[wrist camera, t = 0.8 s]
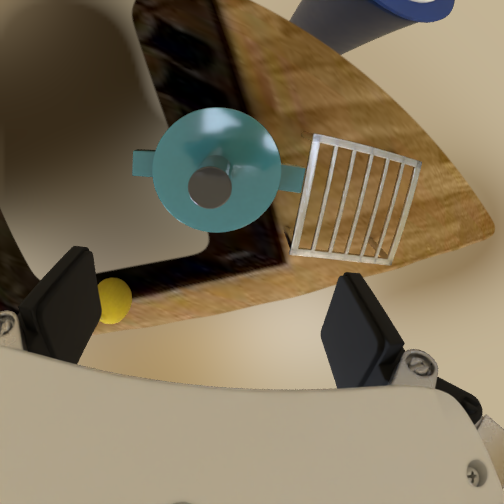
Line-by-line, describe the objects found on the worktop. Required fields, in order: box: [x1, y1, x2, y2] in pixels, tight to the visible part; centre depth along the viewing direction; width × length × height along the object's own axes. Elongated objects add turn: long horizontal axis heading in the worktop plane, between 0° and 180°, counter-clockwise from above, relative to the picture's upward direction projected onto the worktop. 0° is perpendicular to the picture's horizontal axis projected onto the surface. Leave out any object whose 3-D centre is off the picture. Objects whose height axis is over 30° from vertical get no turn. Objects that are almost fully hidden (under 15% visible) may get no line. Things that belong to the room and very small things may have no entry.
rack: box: [284, 131, 422, 265], centre depth 32 cm, size 13×13×6 cm
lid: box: [152, 107, 281, 232], centre depth 22 cm, size 11×11×7 cm
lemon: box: [98, 278, 132, 324], centre depth 36 cm, size 6×6×8 cm
